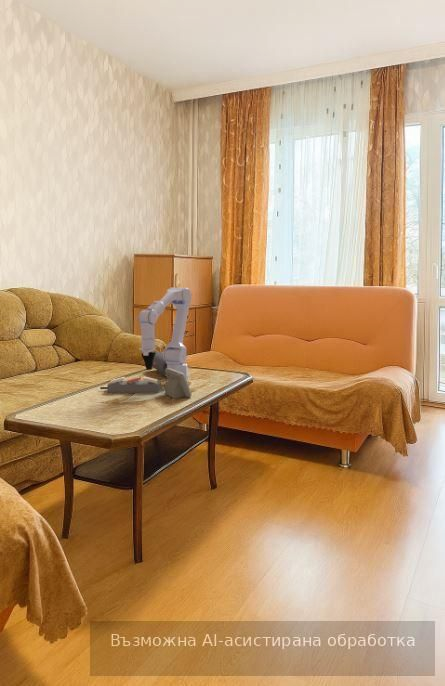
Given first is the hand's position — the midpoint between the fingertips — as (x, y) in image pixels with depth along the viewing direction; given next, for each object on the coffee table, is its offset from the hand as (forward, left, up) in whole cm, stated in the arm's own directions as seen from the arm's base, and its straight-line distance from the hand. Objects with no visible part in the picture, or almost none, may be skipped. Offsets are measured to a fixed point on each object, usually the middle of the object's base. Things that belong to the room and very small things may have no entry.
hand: (149, 369), depth 224 cm
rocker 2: (+7, +1, -5) cm, 8 cm away
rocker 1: (+14, +1, -5) cm, 14 cm away
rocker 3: (0, +1, -5) cm, 5 cm away
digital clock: (-13, +7, -10) cm, 18 cm away
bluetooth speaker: (-1, -37, -10) cm, 38 cm away
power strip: (+9, -1, -9) cm, 13 cm away
